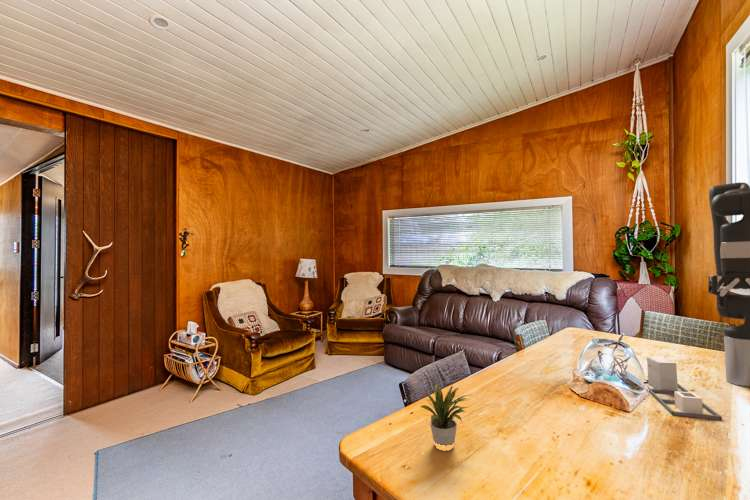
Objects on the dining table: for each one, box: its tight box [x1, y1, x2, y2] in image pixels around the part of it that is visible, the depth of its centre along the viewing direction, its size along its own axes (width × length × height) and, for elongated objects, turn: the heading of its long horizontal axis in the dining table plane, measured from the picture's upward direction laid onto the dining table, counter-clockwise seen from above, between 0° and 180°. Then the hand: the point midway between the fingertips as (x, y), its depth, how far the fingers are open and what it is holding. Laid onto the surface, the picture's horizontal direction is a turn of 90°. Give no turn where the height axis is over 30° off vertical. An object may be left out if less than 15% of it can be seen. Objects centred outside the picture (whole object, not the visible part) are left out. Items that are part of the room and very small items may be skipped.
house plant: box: [419, 383, 471, 446], centre depth 93 cm, size 14×14×16 cm
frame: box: [645, 379, 723, 421], centre depth 120 cm, size 30×12×1 cm, turn 159°
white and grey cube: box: [673, 390, 704, 414], centre depth 111 cm, size 5×5×5 cm
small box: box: [646, 356, 679, 391], centre depth 129 cm, size 8×6×10 cm
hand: (740, 308), depth 109 cm, fingers open, 8 cm apart
